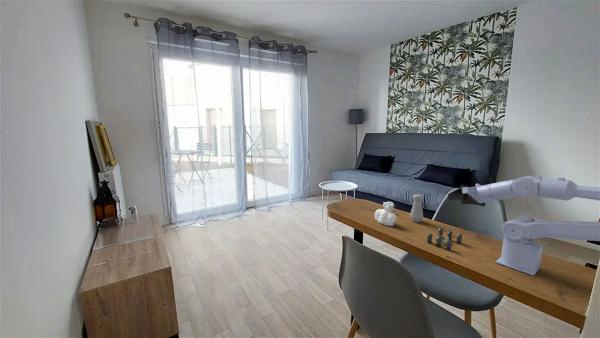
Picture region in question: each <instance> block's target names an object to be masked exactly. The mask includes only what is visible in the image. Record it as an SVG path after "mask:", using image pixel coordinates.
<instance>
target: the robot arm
mask: <svg viewBox="0 0 600 338" xmlns="http://www.w3.org/2000/svg"><path fill="white" fill-rule="evenodd" d="M521 196H522V197H523V198H526V197H530V196H536V197H538V198H545V199H553V200H561V201H567V202H568V201H571V200H572V199H574V198H581V199H586V200H592V201H593V200H594V201H600V186H588V185H578V184H576V183H575V182H574V181H572V180H569V179H566V177H561V176H560V177H559V176H558V177H557V178H547V177H542V176H541V175H539V176H538V175H535V176H533V175H524V176H522V177H518V178H515V179H509V180H503V181H497V182H494V183H489V184H484V185H481V184H480V183H475V186H471V187H469V186H467V185H465V184H461V185H459V187H458V188H457V189H455V190H454V191H452V192H451V191H450V192H449V193H448V194H447V198H448V200H454V201H456V200H460V202H461V205H474V206H479V207H480V206H481V207H486V203H493V201H494V202H495V201H501V200H505V199H514V198H516V197H521ZM501 232H502V234H503V238H502V239H503V240H502V248H501V256H500V257H499V258H498V259H497V260H496V261H495V263H496V264H499V265H502V266H505V267H508V268H510V269H513V270H517V271H519V272H523V273H524V274H528V275H530V276H535V275H536V274H537V272H538V271H539V270H540V268H541V265H542V263H541V262H542V256H543V255H542V254H543V250H544V249H543V246H544V245H543V244H540V243H538V242H535V240H536V239H543V238H547V239H563V240H578V241H592V242H593V241H594V242H600V221H579V220H578V221H577V220H575V221H574V220H573V221H570V220H545V219H540V218H534V217H533V218H532V217H530V216H528V215H520V216H518V217H516V218H514V219H511V220H507V221H504V222H503V223H502V226H501Z"/></svg>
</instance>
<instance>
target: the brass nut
mask: <svg viewBox="0 0 600 338" xmlns="http://www.w3.org/2000/svg"><path fill="white" fill-rule="evenodd" d="M437 236H439V237H442V242H441V246H442V245H443V246H444V245H446V244H447V240H449V239H448V237H447V236H444V235H443V236H442V235H438V234H437V235H434V242H435V243H437Z"/></svg>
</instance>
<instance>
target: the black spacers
mask: <svg viewBox="0 0 600 338" xmlns="http://www.w3.org/2000/svg"><path fill="white" fill-rule="evenodd" d="M443 234H444V228H443V227H439V228H438V233H437V235H442V236H444V235H443ZM446 237H448V239H449V240H447V244H446V246H445V249H446V251H449V252H450V251H452V243H453V231H452V230H448V231H447V236H446ZM426 240H427V241H426V243H427V244H432V243H433V234H432V233H429V232H428V233H427V238H426ZM462 241H463V233H457V237H456V243H457V244H459V245H462V243H463V242H462ZM441 242H442V237H439V236H437V243H436V242H435V243H436V245H435V246H436V247H439V248H441V247H442V245H441Z"/></svg>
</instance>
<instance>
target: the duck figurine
mask: <svg viewBox="0 0 600 338" xmlns="http://www.w3.org/2000/svg"><path fill="white" fill-rule="evenodd" d="M382 207H383V208H379V209H376V210H375V212H374V220H375V221H377V223H379V224H381V225H384V226H388V227H389V226H390V227H393V226H394V224H395V223H396V221H397V220H398V217H397V215H396V214H395V212H393V211H392V210H394V208H395V203H394V202H392V201H387V202H385V201H383V204H382Z"/></svg>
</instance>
